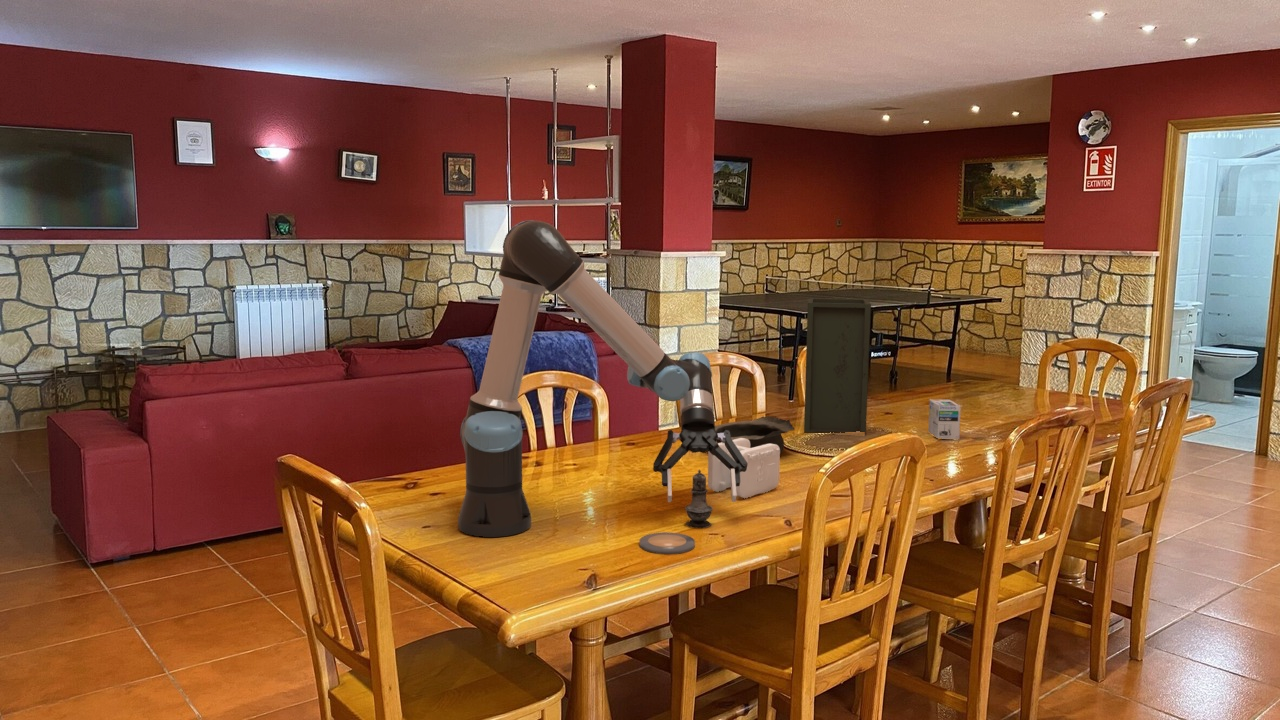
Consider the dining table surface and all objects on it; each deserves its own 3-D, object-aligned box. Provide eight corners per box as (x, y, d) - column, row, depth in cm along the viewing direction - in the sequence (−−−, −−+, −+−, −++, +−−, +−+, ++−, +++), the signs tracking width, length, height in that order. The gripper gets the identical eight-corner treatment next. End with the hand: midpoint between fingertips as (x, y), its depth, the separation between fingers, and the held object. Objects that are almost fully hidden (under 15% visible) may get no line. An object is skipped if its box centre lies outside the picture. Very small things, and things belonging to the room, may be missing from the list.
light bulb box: (959, 441, 288) (961, 405, 286) (937, 440, 288) (938, 405, 287) (949, 433, 299) (950, 398, 297) (927, 433, 299) (928, 398, 297)
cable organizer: (746, 481, 241) (747, 435, 239) (781, 490, 233) (782, 442, 232) (706, 493, 230) (707, 445, 229) (741, 502, 223) (742, 452, 221)
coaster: (629, 541, 195) (629, 537, 194) (675, 533, 200) (675, 528, 200) (658, 557, 185) (658, 553, 185) (705, 548, 191) (705, 544, 191)
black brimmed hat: (811, 454, 269) (811, 421, 267) (742, 473, 255) (741, 439, 254) (753, 436, 289) (752, 406, 287) (686, 453, 276) (684, 422, 274)
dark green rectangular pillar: (804, 421, 314) (808, 298, 309) (862, 424, 311) (867, 299, 306) (803, 433, 296) (807, 302, 291) (865, 436, 293) (870, 304, 288)
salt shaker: (681, 526, 204) (681, 471, 203) (689, 519, 210) (690, 464, 208) (708, 530, 202) (709, 473, 201) (715, 522, 208) (716, 467, 206)
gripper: (750, 423, 221) (759, 507, 208) (641, 424, 220) (642, 507, 208) (754, 405, 215) (763, 489, 202) (641, 405, 214) (643, 490, 202)
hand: (702, 499), depth 205 cm, fingers open, 13 cm apart
